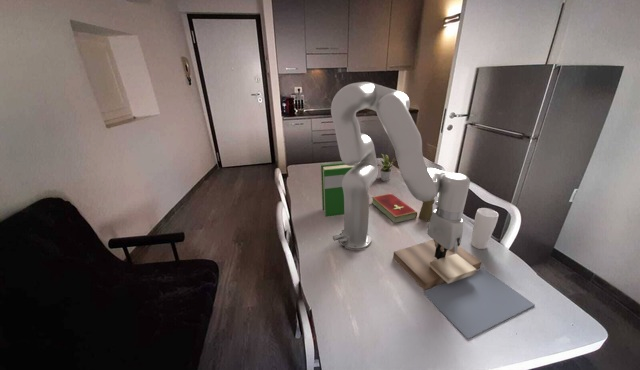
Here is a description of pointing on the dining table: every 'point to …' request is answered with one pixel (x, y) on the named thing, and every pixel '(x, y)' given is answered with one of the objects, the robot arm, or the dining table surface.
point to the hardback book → (333, 188)
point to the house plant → (385, 169)
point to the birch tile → (452, 268)
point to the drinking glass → (483, 227)
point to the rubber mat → (477, 302)
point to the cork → (426, 210)
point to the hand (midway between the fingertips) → (439, 257)
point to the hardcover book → (394, 208)
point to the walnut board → (427, 262)
